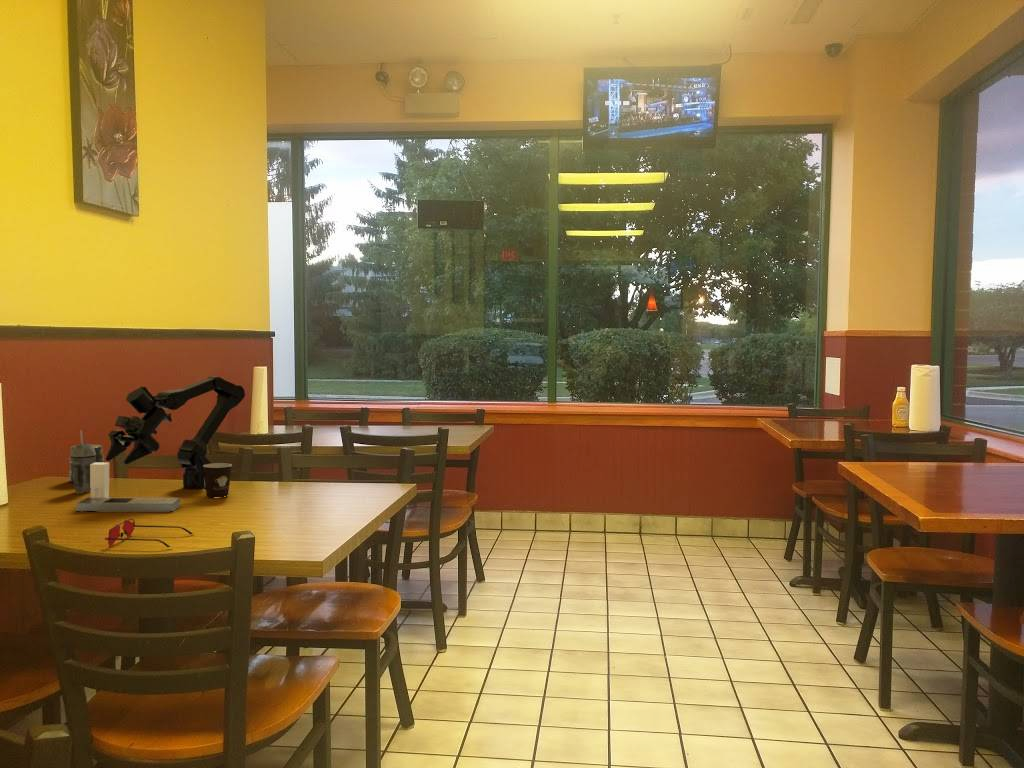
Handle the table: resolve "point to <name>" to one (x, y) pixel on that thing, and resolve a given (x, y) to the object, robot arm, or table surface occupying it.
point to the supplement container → (98, 459)
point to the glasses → (128, 530)
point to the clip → (99, 480)
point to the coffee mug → (216, 479)
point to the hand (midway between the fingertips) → (115, 462)
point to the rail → (128, 504)
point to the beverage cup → (82, 465)
